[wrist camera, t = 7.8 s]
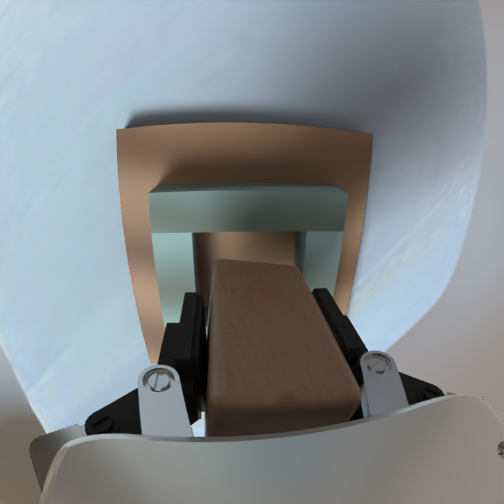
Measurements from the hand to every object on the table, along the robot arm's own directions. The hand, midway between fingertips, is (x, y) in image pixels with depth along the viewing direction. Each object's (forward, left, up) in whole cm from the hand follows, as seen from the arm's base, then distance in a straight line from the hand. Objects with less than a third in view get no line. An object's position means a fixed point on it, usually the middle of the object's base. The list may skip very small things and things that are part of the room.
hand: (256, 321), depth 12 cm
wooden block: (0, 0, -2) cm, 2 cm away
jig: (0, 0, -6) cm, 6 cm away
